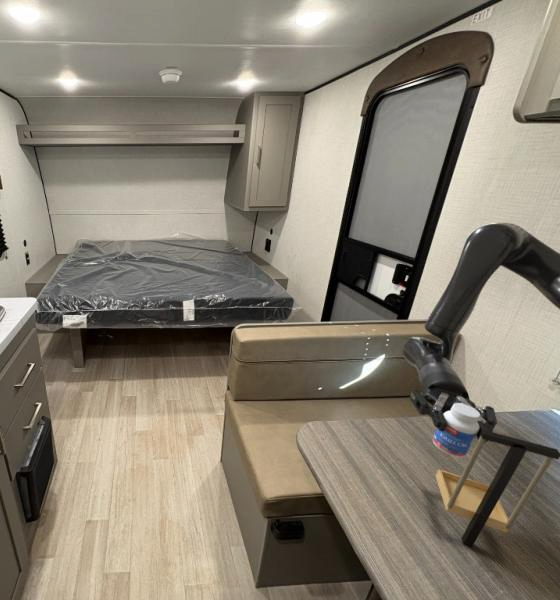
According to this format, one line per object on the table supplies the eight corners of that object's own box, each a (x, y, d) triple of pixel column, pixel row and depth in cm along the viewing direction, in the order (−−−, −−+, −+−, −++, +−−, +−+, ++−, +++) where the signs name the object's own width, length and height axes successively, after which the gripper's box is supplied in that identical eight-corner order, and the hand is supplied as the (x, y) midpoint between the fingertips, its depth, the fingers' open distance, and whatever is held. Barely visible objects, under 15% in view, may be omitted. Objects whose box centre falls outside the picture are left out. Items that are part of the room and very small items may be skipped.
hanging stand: (478, 515, 64) (532, 417, 54) (497, 562, 56) (563, 457, 47) (424, 496, 67) (466, 401, 58) (435, 538, 60) (485, 436, 50)
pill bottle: (430, 447, 65) (446, 410, 61) (433, 432, 69) (448, 396, 65) (466, 463, 61) (485, 424, 58) (467, 446, 65) (485, 408, 61)
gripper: (408, 363, 76) (422, 406, 62) (488, 380, 70) (523, 431, 56) (399, 388, 79) (411, 435, 65) (475, 407, 73) (506, 462, 59)
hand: (463, 433), depth 61 cm, fingers closed on pill bottle, 5 cm apart
